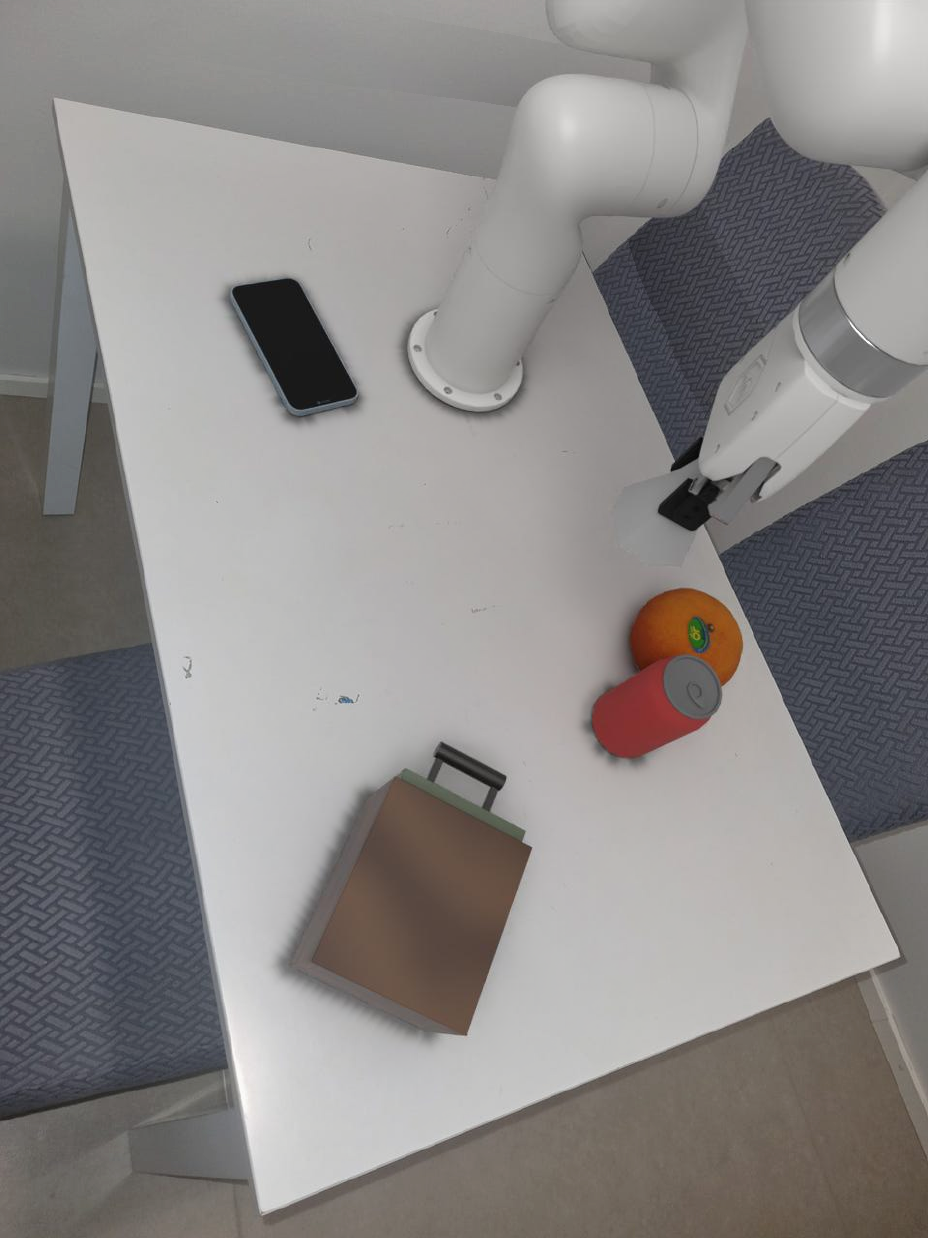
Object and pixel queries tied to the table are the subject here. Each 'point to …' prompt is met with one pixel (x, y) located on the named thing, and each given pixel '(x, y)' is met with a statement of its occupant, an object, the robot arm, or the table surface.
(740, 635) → the fruit
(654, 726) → the beer can
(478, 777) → the drawer
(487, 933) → the cabinet
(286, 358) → the smartphone
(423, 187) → the table surface
